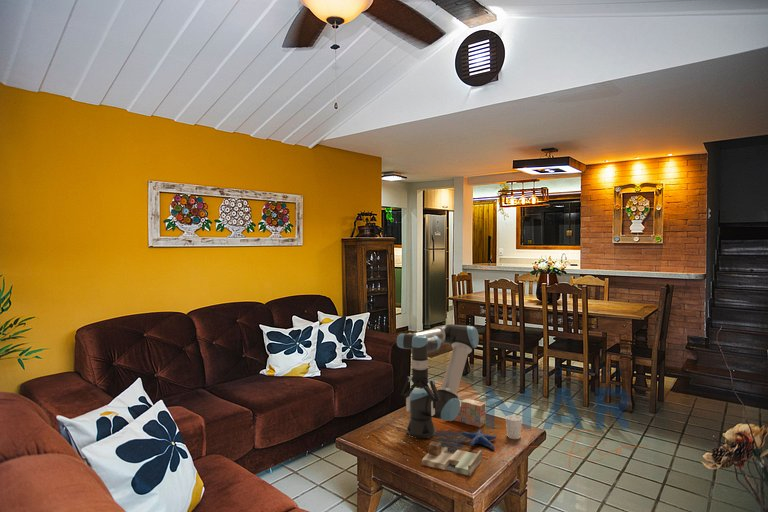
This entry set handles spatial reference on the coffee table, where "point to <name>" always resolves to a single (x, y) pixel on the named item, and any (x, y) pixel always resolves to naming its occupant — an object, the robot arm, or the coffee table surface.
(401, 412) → the coffee table surface
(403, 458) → the coffee table surface
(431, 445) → the walnut cube
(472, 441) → the starfish
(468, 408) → the stack of blocks
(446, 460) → the board
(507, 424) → the white cup
